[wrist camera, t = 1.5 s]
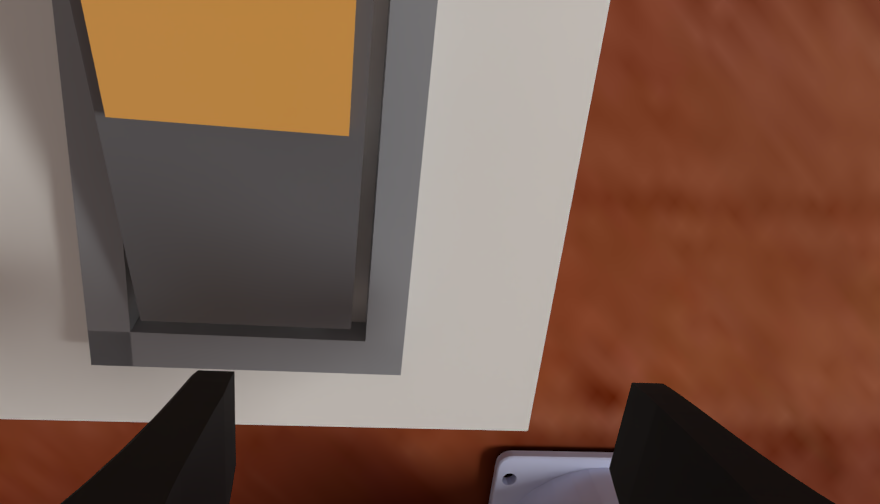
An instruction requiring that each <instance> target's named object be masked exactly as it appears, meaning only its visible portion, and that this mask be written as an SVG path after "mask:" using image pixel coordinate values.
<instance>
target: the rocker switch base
mask: <svg viewBox="0 0 880 504" xmlns="http://www.w3.org/2000/svg"><path fill="white" fill-rule="evenodd" d="M609 4H610V0H374V9H373V23H372V37H371V51H370V66H369V80H368V94H367V108H366V122H365V136H364V150H363V165H362V179H361V193H360V207H359V221H358V235H357V249H356V263H355V278H354V292H353V306H352V320H351V329H330V328H306V327H282V326H258V325H234V324H209V323H185V322H161V321H141V320H140V316H139V311H138V307H137V302H136V298H135V293H134V289H133V284H132V280H131V275H130V271H129V266H128V262H127V257H126V253H125V248H124V244H123V239H122V235H121V230H120V226H119V221H118V217H117V212H116V208H115V203H114V199H113V194H112V190H111V185H110V181H109V176H108V172H107V167H106V163H105V158H104V154H103V149H102V145H101V140H100V136H99V131H98V127H97V122H96V118H95V113H94V109H93V104H92V100H91V95H90V91H89V86H88V82H87V77H86V73H85V68H84V64H83V59H82V55H81V50H80V46H79V41H78V37H77V32H76V28H75V23H74V19H73V14H72V10H71V5H70V1H69V0H0V419H26V420H70V421H113V422H150V421H151V420H152V419H153V418H154V417H155V416H156V415H157V413H158V412H159V411H160V410H161V409H162V408H163V407H164V406H165V405H166V404H167V403H168V402H169V400H170V399H171V398H172V397H173V396H174V395H175V394H176V393H177V391H178V390H179V389H180V388H181V387H182V386H183V385H184V383H185V382H186V381H187V380H188V379H189V378H190V377H191V375H193V374H194V373H195V372H196V371H198V370H204V371H234V374H235V424H245V425H289V426H333V427H377V428H420V429H464V430H508V431H528V427H529V421H530V416H531V411H532V406H533V400H534V395H535V390H536V385H537V380H538V374H539V369H540V364H541V359H542V353H543V348H544V343H545V338H546V333H547V327H548V322H549V317H550V312H551V307H552V301H553V296H554V291H555V286H556V280H557V275H558V270H559V265H560V260H561V254H562V249H563V244H564V239H565V233H566V228H567V223H568V218H569V213H570V207H571V202H572V197H573V192H574V186H575V181H576V176H577V171H578V166H579V160H580V155H581V150H582V145H583V139H584V134H585V129H586V124H587V119H588V113H589V108H590V103H591V98H592V92H593V87H594V82H595V77H596V72H597V66H598V61H599V56H600V51H601V46H602V40H603V35H604V30H605V25H606V19H607V14H608V9H609Z"/></svg>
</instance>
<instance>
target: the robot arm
mask: <svg viewBox="0 0 880 504" xmlns="http://www.w3.org/2000/svg"><path fill="white" fill-rule="evenodd" d="M235 466H236V449H235V374H234V371H204V370H198V371H196V372H195V373H194V374H193V375H191V377H190V378H189V379H188V380H187V381H186V382H185V383H184V385H183V386H182V387H181V388H180V389H179V390H178V391H177V393H176V394H175V395H174V396H173V397H172V398H171V399H170V400H169V402H168V403H167V404H166V405H165V406H164V407H163V408H162V409H161V410H160V411H159V412H158V413H157V415H156V416H155V417H154V418H153V419H152V420H151V421H150V422H149V423H148V424H147V425H146V426H145V427H144V428H143V429H142V430H141V431H140V432H139V433H138V434H137V435H136V436H135V437H134V438H133V439H132V440H131V441H130V442H129V443H128V444H127V445H126V446H125V447H124V448H123V449H122V450H121V451H120V452H119V453H118V454H117V455H116V456H115V457H113V458H112V459H111V460H110V461H109V462H108V463H107V464H106V465H105V466H104V467H102V468H101V469H100V470H99V471H98V472H97V473H96V474H95V475H94V476H93V477H91V478H90V479H89V480H88V481H87V482H86V483H85V484H84V485H82V486H81V487H80V488H79V489H78V490H76V491H75V492H74V493H73V494H72V495H70V496H69V497H68V498H67V499H66V500H64V501H63V502H62V503H61V504H229V502H230V497H231V491H232V485H233V478H234V472H235ZM510 473H511V474H513V475H512V476H510V477H503V476H505V475H506V474H510ZM489 504H835V503H833V502H832V501H830V500H828V499H827V498H825V497H824V496H822V495H820V494H819V493H817V492H816V491H814V490H812V489H811V488H809V487H808V486H806V485H805V484H803V483H802V482H800V481H799V480H797V479H796V478H794V477H793V476H791V475H790V474H788V473H787V472H785V471H784V470H782V469H781V468H779V467H778V466H777V465H775V464H774V463H772V462H771V461H769V460H768V459H767V458H765V457H764V456H762V455H761V454H759V453H758V452H757V451H755V450H754V449H753V448H751V447H750V446H748V445H747V444H746V443H744V442H743V441H742V440H740V439H739V438H738V437H736V436H735V435H733V434H732V433H731V432H729V431H728V430H727V429H725V428H724V427H723V426H721V425H720V424H719V423H717V422H716V421H715V420H713V419H712V418H711V417H709V416H708V415H707V414H705V413H704V412H703V411H701V410H700V409H699V408H697V407H696V406H695V405H693V404H692V403H691V402H689V401H688V400H686V399H685V398H684V397H682V396H681V395H679V394H678V393H677V392H675V391H674V390H672V389H671V388H669V387H667V386H666V385H664V384H657V383H632V385H631V388H630V392H629V396H628V400H627V403H626V407H625V411H624V414H623V418H622V422H621V426H620V429H619V433H618V437H617V441H616V444H615V448H614V452H570V451H517V450H511V451H505V452H503V453H501V454H500V455H499V456H498V457H497V460H496V464H495V469H494V475H493V481H492V487H491V492H490V498H489Z"/></svg>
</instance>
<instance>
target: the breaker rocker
mask: <svg viewBox="0 0 880 504" xmlns="http://www.w3.org/2000/svg"><path fill="white" fill-rule="evenodd" d="M69 1H70V5H71V10H72V14H73V19H74V23H75V28H76V32H77V37H78V41H79V46H80V50H81V55H82V59H83V64H84V68H85V73H86V77H87V82H88V86H89V91H90V95H91V100H92V104H93V109H94V113H95V118H96V122H97V127H98V131H99V136H100V140H101V145H102V149H103V154H104V158H105V163H106V167H107V172H108V176H109V181H110V185H111V190H112V194H113V199H114V203H115V208H116V212H117V217H118V221H119V226H120V230H121V235H122V239H123V244H124V248H125V253H126V257H127V262H128V266H129V271H130V275H131V280H132V284H133V289H134V293H135V298H136V302H137V307H138V311H139V316H140V320H141V321H161V322H185V323H209V324H234V325H258V326H282V327H306V328H330V329H351V320H352V306H353V292H354V278H355V263H356V249H357V235H358V221H359V207H360V193H361V179H362V165H363V150H364V136H365V122H366V108H367V94H368V80H369V66H370V51H371V37H372V23H373V9H374V0H69Z"/></svg>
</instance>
